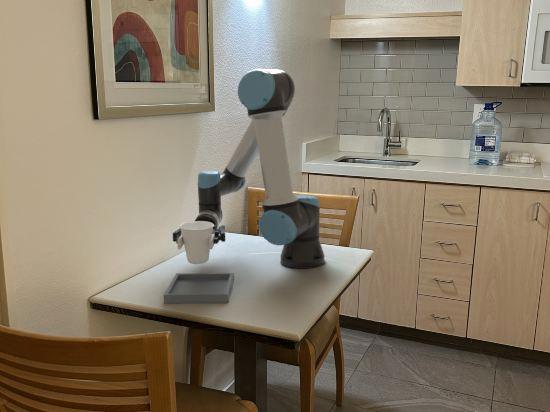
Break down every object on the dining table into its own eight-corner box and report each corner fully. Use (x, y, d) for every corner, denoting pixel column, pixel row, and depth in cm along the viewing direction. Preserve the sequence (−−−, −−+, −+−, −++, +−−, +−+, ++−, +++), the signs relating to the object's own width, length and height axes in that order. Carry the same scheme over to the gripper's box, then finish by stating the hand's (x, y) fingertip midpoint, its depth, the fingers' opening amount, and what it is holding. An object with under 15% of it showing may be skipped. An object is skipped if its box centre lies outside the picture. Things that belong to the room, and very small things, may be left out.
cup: (209, 267, 155) (207, 230, 153) (175, 265, 157) (174, 228, 154) (219, 257, 164) (218, 221, 162) (188, 255, 166) (186, 220, 164)
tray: (233, 280, 171) (233, 272, 170) (227, 302, 153) (227, 294, 153) (176, 280, 171) (176, 273, 171) (164, 303, 154) (163, 294, 153)
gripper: (238, 235, 177) (232, 257, 155) (174, 235, 178) (158, 257, 156) (238, 213, 176) (231, 232, 154) (173, 213, 176) (156, 232, 154)
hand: (194, 244), depth 155 cm, fingers closed on cup, 8 cm apart
